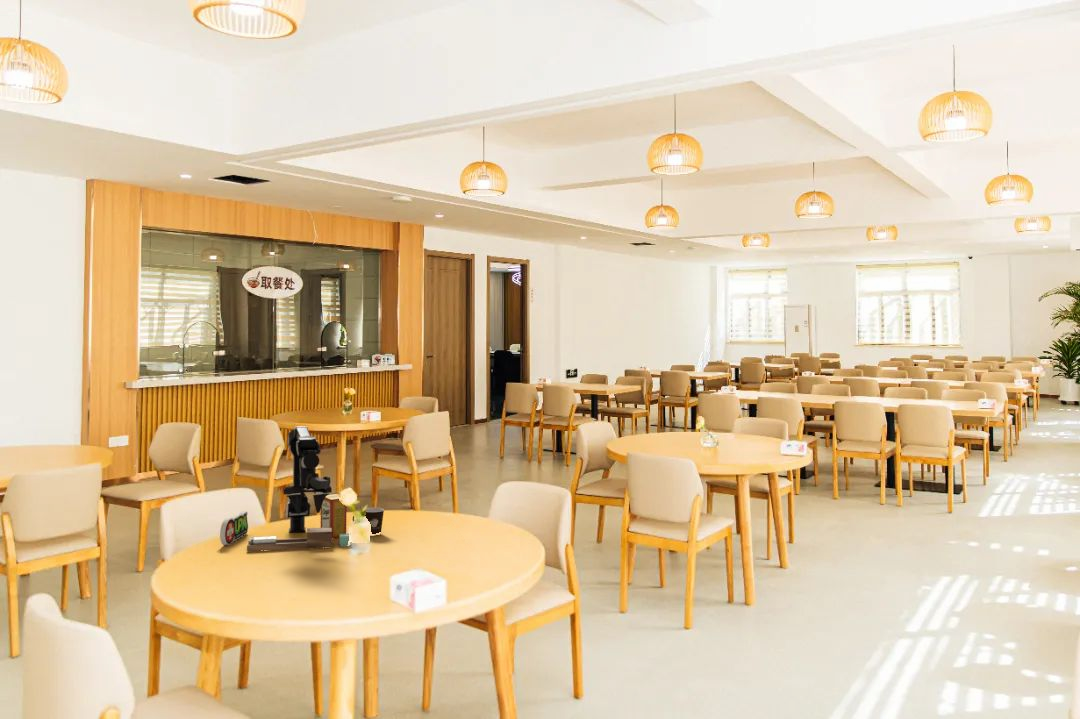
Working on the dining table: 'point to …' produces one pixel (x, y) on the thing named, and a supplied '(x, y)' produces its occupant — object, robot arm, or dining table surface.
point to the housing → (299, 541)
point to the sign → (233, 528)
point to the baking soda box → (333, 515)
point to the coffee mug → (374, 519)
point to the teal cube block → (344, 539)
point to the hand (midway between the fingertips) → (308, 513)
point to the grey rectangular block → (263, 540)
